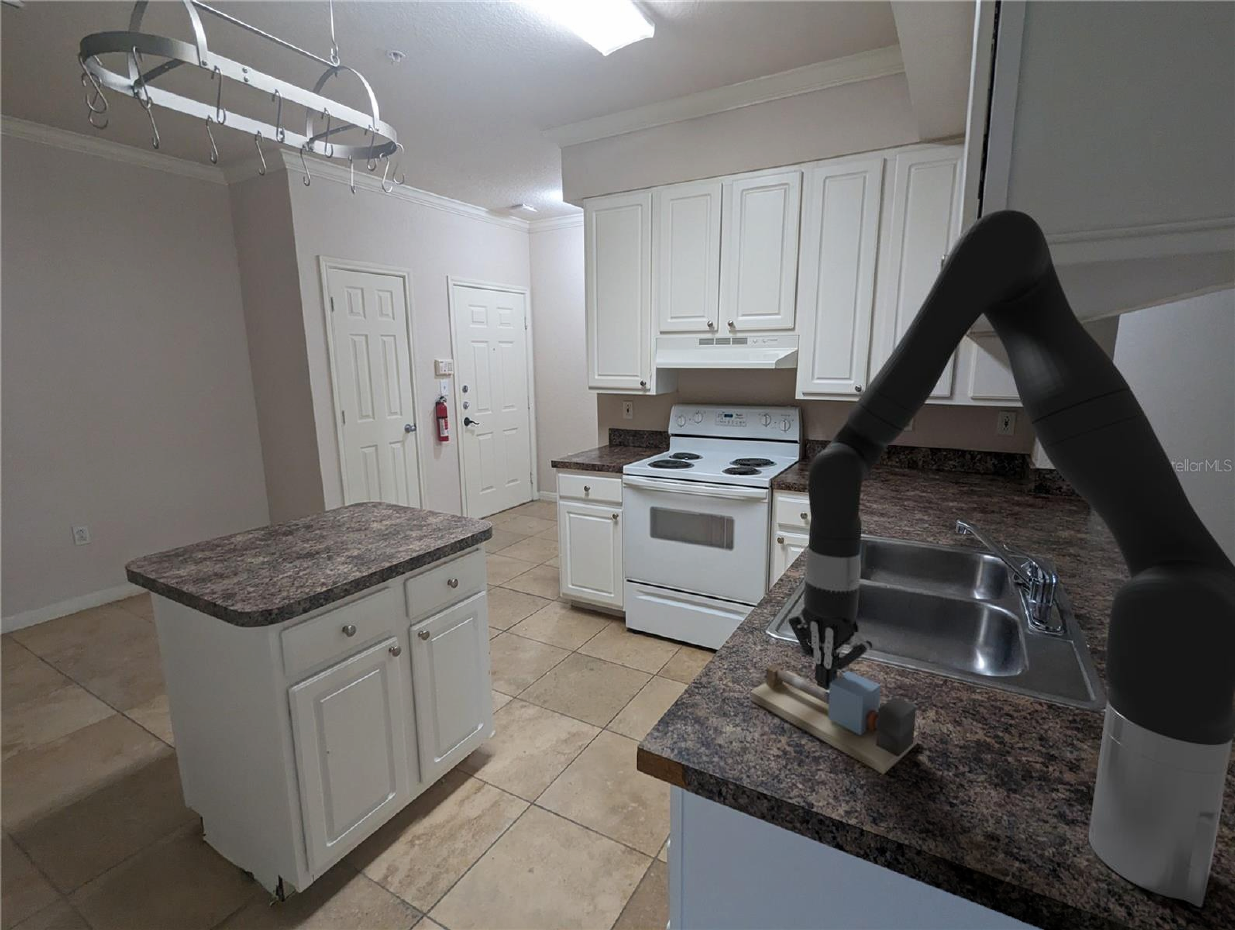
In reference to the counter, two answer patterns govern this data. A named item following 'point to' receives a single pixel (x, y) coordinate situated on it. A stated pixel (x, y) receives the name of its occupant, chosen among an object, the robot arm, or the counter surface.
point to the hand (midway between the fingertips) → (825, 686)
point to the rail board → (810, 710)
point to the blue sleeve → (853, 701)
